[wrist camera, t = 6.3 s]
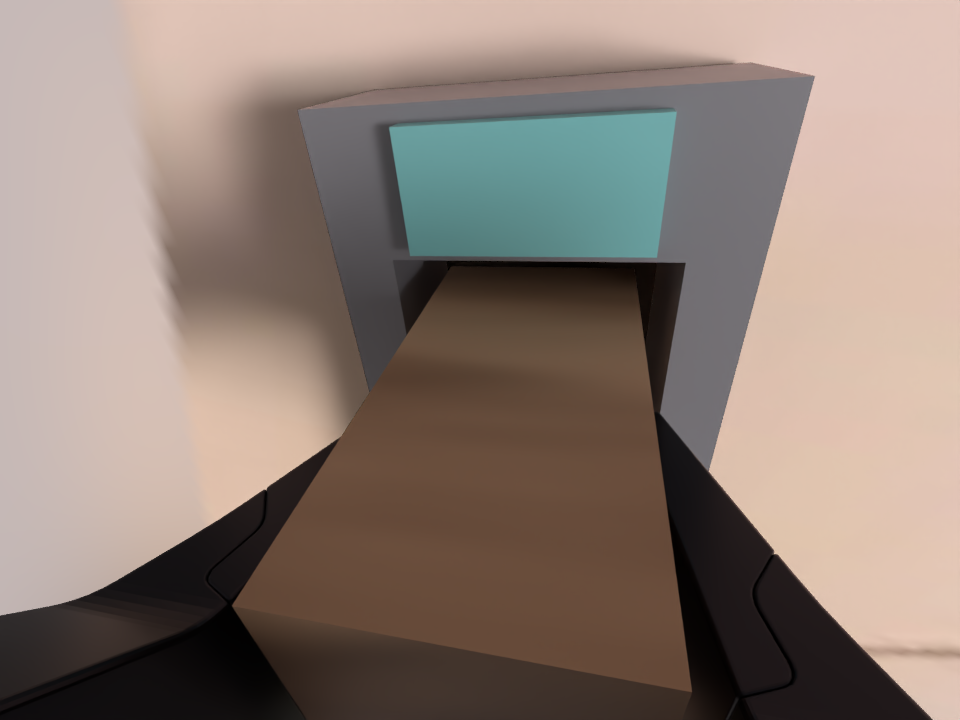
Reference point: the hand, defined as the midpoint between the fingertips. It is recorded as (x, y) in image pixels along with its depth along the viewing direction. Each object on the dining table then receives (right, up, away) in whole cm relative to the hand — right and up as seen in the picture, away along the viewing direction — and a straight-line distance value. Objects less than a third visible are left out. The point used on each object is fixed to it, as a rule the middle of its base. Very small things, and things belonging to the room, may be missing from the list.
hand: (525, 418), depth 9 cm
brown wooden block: (+1, +1, +2) cm, 3 cm away
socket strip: (+1, -2, +7) cm, 7 cm away
